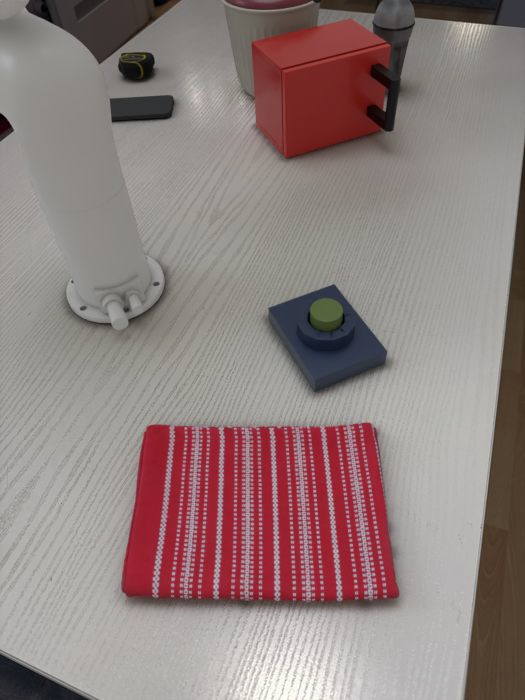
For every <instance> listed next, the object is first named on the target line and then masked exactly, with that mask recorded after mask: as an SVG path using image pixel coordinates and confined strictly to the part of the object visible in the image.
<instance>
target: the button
mask: <svg viewBox="0 0 525 700" xmlns="http://www.w3.org/2000/svg"><path fill="white" fill-rule="evenodd" d="M342 316H343V308H342V306H341V304H340V303H339V302H337V301H336V300H333V299H329V298H324V299H319V300H317V301H315V302H314V303H313V304H312V305H311V308H310V323H311V325H312V326H313V327H314V328H315V329H316V330H318V331H321V332H331V331H334V330H336V329H338V328H339V327H340V325H341V323H342Z"/></svg>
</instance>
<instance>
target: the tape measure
mask: <svg viewBox="0 0 525 700" xmlns="http://www.w3.org/2000/svg"><path fill="white" fill-rule="evenodd" d="M155 64H156V60H155V56H154V55H153V53H152V52H148V51H134V52H133V51H132V52H121V54H120V57H119V58H118V63H117V68H118V72H119V73H121V75H122V76H123V77H124V78H126V79H133V80H139V79H143V78H146V77H148V76H150V75H152V73H153V72H154V66H155Z"/></svg>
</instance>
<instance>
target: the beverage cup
mask: <svg viewBox="0 0 525 700" xmlns="http://www.w3.org/2000/svg"><path fill="white" fill-rule="evenodd" d="M415 19H416V13H415V8H414V5H413V4H412V2H411V0H382V1H381V2H380V3H379V4H378V6H377V8H376V10H375V13H374V15H373V19H372V33H374V34H375V35H377V36H379V37H380V38H382V39H383V40H385V41H386V42H387V44H389V45H391V51H390V59H389V67H388V69H389V70H390V71H392V72H393V73H395V74H396V75H398V76H399V77H400V78H401V77H402V73H403V68H404V63H405V59H406V55H407V50H408V47H409V42H410V38H411V36H412V33H413V30H414V27H415V26H416V20H415ZM388 90H389V89H387V88H386V91H385V95H388Z"/></svg>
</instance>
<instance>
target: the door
mask: <svg viewBox="0 0 525 700" xmlns="http://www.w3.org/2000/svg"><path fill="white" fill-rule="evenodd" d="M390 51H391V45H389V44H384V45H381V46H377V47H373V48H369V49H365V50H361V51H357V52H353V53H349V54H345V55H341V56H337V57H333V58H329V59H325V60H321V61H317V62H313V63H309V64H305V65H301V66H297V67H293V68H289V69H285V70H282V91H283V143H284V155H283V157H284V158H285V159H288V158H292V157H296V156H300V155H302V154H306V153H309V152H313V151H317V150H319V149H323V148H326V147H331V146H333V145H337V144H340V143H343V142H347V141H350V140H353V139H358V138H361V137H364V136H368V135H371V134H374V133H378V132H380V131H381V129H382V130H383V131H384V132H387V133H391V132H393V131H394V129H395V123H396V122H395V121H396V114H397V109H398V101H399V96H400V89H401V81H402V78H401V77H399V76H398V75H396V74H395V73H393V72H392V71H390V70H389V69H388V67H389V59H390ZM386 88H387V89H389V90H388V94H387V98H386V99H387V100H386V105H385V97H386V94H385V91H386ZM384 105H385V111H384Z"/></svg>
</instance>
